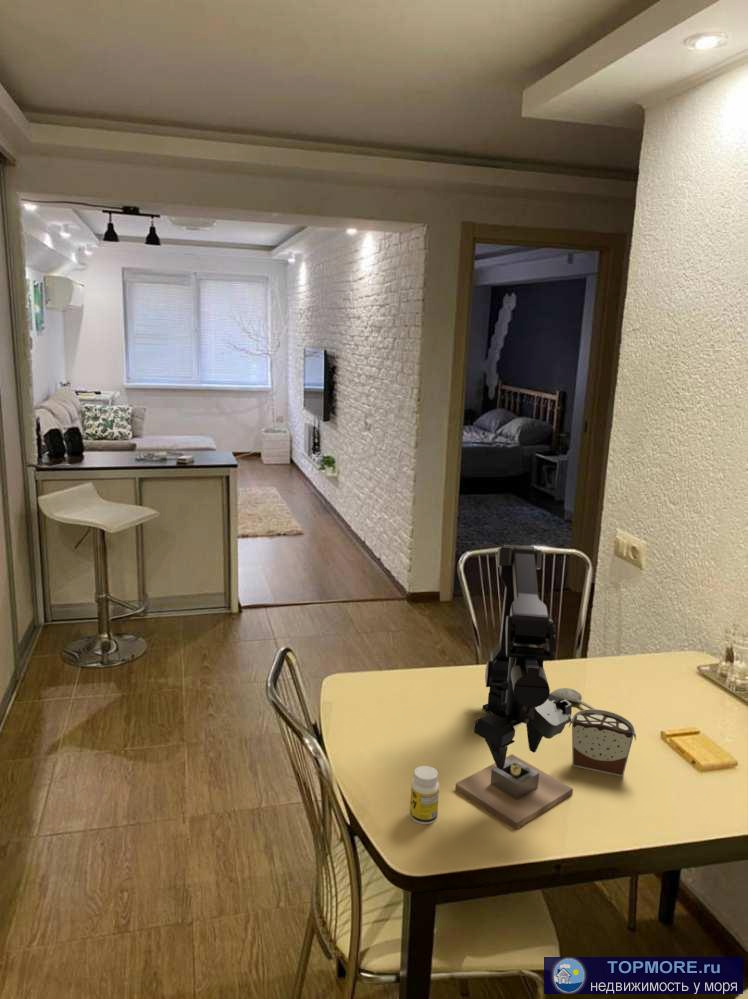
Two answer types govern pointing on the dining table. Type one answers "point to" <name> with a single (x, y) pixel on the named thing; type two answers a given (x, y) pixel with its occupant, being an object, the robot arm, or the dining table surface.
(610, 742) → the slice of cake
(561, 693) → the soupspoon
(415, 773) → the supplement bottle
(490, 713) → the robot arm
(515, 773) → the keeper peg
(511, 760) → the grey square ring
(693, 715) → the dining table surface
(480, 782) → the keeper board
